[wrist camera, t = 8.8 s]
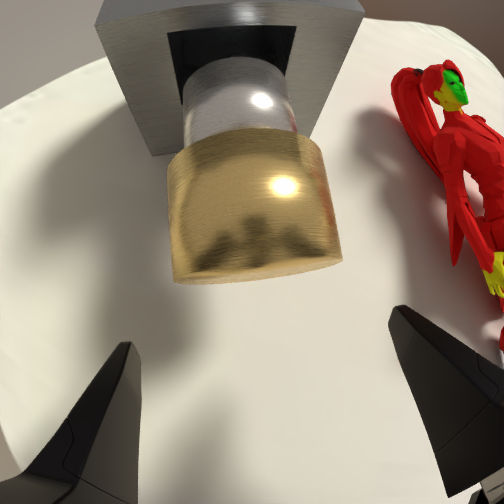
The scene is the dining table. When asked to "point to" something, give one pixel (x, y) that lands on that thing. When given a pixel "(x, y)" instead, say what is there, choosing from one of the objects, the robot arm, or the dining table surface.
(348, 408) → the dining table surface
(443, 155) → the figurine
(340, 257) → the gold cylindrical piece
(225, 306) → the dining table surface
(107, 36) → the housing
